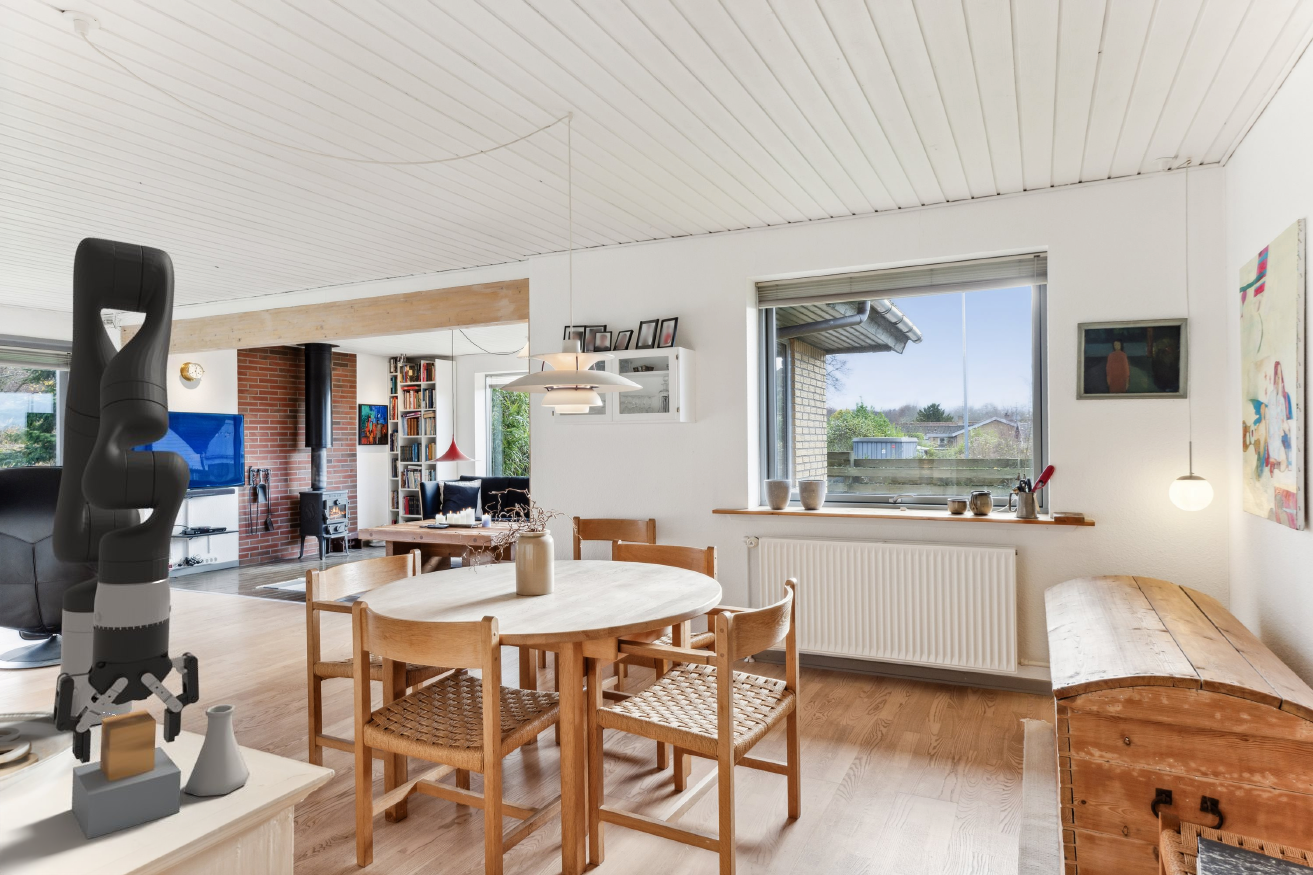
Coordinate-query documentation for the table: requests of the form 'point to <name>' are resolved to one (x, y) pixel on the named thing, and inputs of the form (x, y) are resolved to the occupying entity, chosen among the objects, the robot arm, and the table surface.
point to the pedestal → (124, 796)
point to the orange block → (127, 745)
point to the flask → (218, 757)
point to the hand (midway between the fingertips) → (127, 750)
